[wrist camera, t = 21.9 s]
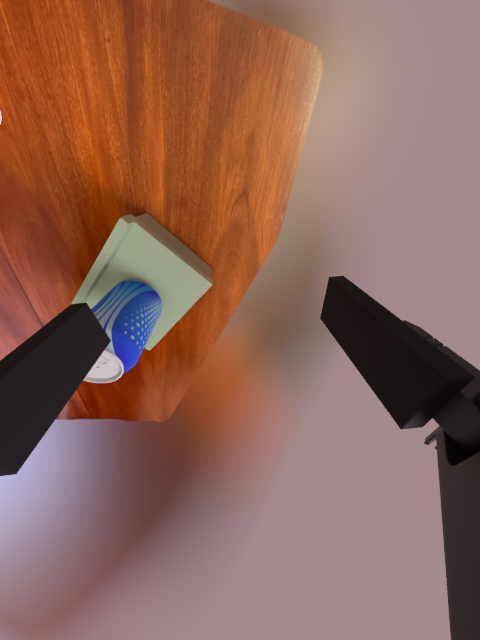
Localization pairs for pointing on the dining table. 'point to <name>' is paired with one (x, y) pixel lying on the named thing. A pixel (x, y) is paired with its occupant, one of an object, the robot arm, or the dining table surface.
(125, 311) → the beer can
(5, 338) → the dining table surface
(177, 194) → the dining table surface
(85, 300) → the shelf
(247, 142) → the dining table surface
